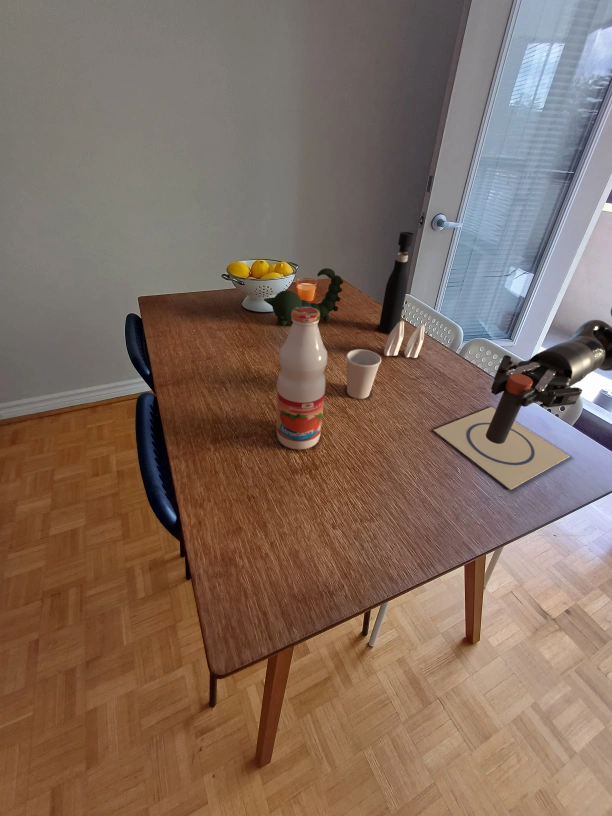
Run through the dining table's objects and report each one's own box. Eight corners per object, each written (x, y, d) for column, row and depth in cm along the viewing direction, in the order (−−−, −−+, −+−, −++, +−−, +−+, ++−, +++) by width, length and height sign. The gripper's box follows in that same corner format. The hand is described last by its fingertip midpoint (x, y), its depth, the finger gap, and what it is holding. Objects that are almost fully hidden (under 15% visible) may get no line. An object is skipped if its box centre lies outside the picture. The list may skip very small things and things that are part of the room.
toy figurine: (328, 319, 140) (258, 318, 132) (338, 265, 129) (263, 259, 121) (338, 331, 132) (264, 330, 124) (349, 274, 122) (270, 269, 114)
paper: (569, 456, 84) (570, 455, 84) (510, 490, 75) (510, 489, 75) (491, 407, 98) (491, 406, 98) (433, 430, 89) (433, 429, 89)
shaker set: (383, 361, 114) (390, 325, 107) (378, 354, 117) (385, 318, 111) (422, 358, 116) (431, 323, 110) (415, 351, 120) (424, 317, 113)
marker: (509, 440, 68) (537, 381, 61) (497, 446, 67) (524, 386, 60) (493, 429, 71) (518, 371, 63) (480, 435, 69) (504, 376, 62)
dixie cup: (373, 404, 96) (380, 368, 90) (339, 398, 97) (344, 362, 91) (375, 386, 103) (382, 351, 97) (343, 381, 104) (348, 346, 98)
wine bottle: (399, 334, 129) (420, 236, 112) (380, 333, 129) (397, 235, 111) (396, 326, 134) (415, 231, 117) (377, 325, 134) (394, 230, 117)
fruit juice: (315, 421, 89) (326, 300, 73) (324, 449, 82) (339, 321, 65) (273, 424, 87) (275, 301, 71) (279, 452, 80) (282, 323, 64)
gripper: (530, 331, 72) (474, 354, 64) (614, 365, 63) (562, 397, 55) (515, 367, 77) (461, 393, 68) (592, 403, 68) (540, 438, 59)
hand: (506, 394), depth 61 cm, fingers closed on marker, 3 cm apart
